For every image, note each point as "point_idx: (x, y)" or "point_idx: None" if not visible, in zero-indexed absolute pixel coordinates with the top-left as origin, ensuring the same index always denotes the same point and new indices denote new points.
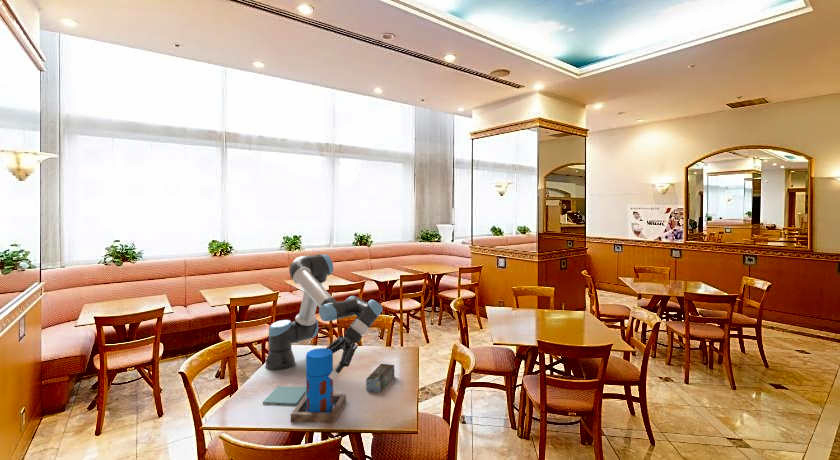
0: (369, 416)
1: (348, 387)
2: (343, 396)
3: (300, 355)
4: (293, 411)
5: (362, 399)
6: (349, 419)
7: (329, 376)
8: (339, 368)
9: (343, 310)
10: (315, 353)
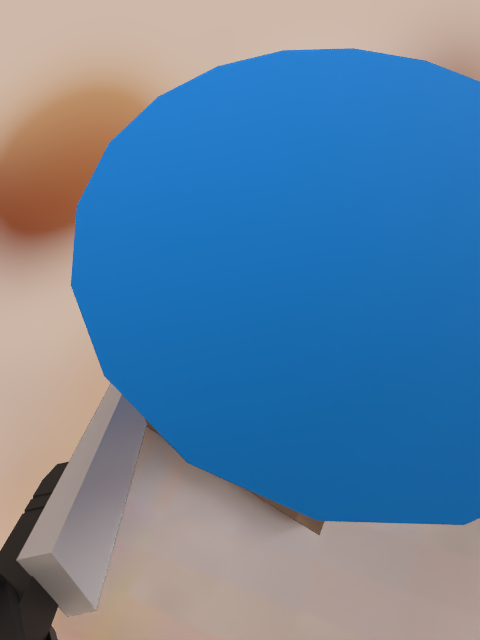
0: (116, 600)
1: (466, 586)
2: (297, 512)
3: None
4: None
5: (297, 628)
6: (142, 488)
7: (110, 387)
8: (23, 521)
9: None
10: (324, 142)
